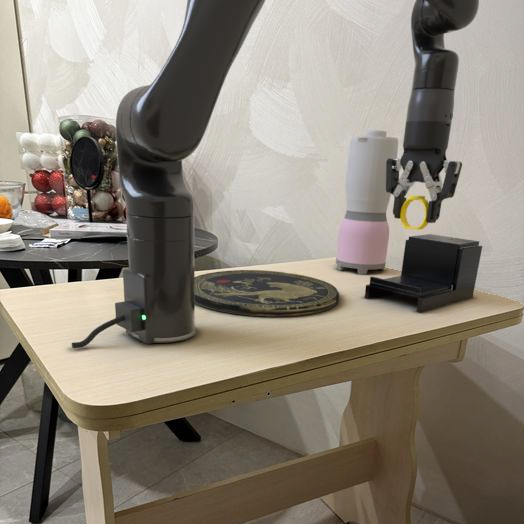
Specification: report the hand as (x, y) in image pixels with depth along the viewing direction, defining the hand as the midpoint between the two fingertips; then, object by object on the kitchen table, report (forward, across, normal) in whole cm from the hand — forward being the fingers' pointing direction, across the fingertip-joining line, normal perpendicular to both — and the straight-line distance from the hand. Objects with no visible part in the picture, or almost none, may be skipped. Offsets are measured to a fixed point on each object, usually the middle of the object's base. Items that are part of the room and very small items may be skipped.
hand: (414, 220), depth 95 cm
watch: (+2, 0, 0) cm, 2 cm away
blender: (+16, -26, +21) cm, 37 cm away
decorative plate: (+16, -20, -19) cm, 32 cm away
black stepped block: (+16, -1, +8) cm, 18 cm away
